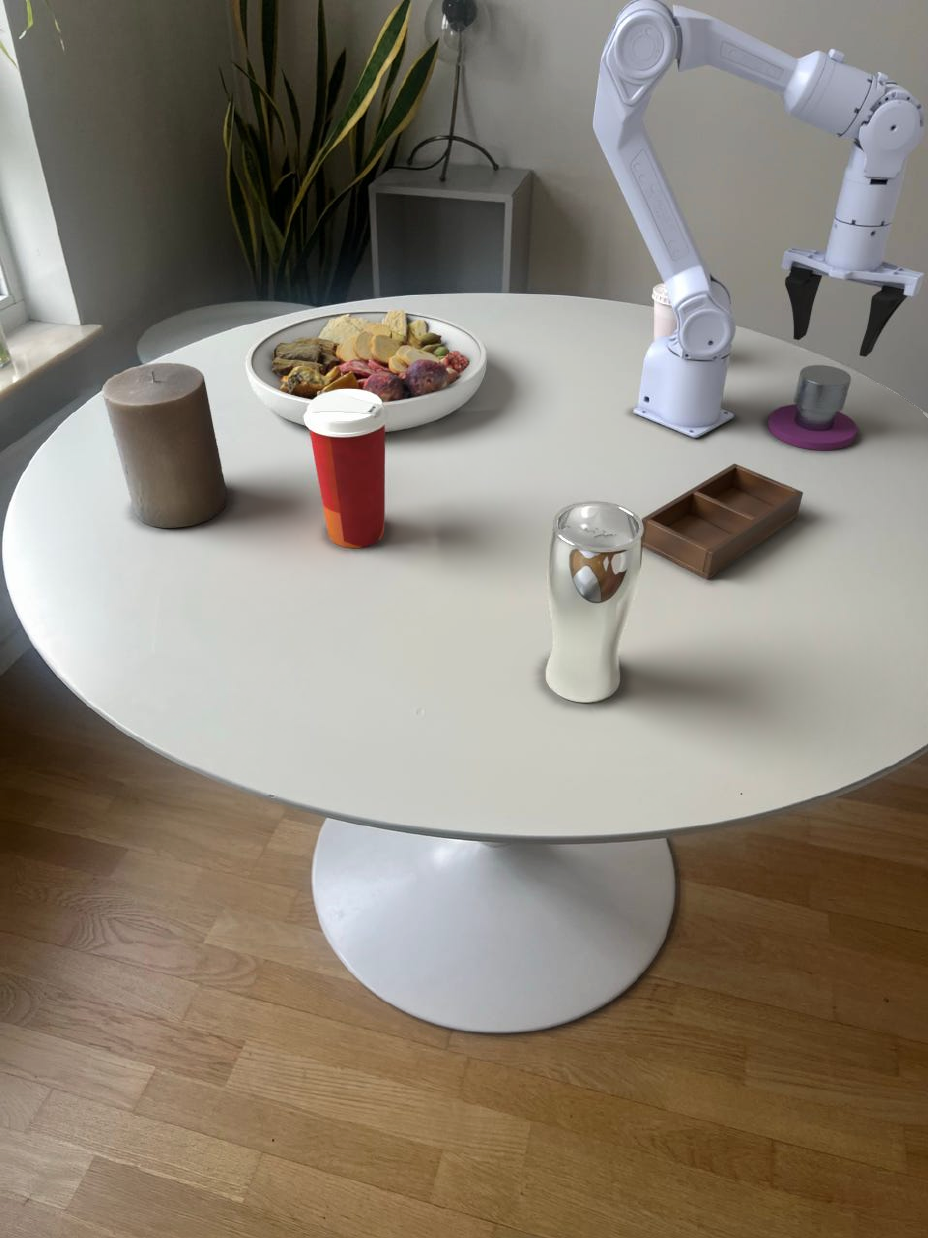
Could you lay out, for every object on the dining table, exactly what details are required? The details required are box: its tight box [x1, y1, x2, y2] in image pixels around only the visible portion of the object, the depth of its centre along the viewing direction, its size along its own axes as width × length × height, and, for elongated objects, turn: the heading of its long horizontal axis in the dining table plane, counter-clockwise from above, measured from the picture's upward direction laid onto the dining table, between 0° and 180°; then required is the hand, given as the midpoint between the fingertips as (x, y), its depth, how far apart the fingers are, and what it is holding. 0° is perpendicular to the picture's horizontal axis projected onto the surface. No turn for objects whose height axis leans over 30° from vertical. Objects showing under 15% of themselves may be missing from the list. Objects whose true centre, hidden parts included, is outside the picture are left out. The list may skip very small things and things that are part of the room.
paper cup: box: [304, 389, 388, 549], centre depth 89 cm, size 8×8×14 cm
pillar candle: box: [101, 362, 228, 529], centre depth 93 cm, size 10×10×15 cm
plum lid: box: [767, 403, 858, 451], centre depth 111 cm, size 10×10×1 cm
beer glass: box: [545, 500, 644, 704], centre depth 72 cm, size 7×7×15 cm
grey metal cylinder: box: [793, 364, 852, 431], centre depth 108 cm, size 6×6×6 cm
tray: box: [641, 463, 804, 580], centre depth 93 cm, size 8×16×3 cm, turn 133°
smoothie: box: [651, 282, 677, 342], centre depth 122 cm, size 6×6×14 cm
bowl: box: [245, 309, 488, 433], centre depth 117 cm, size 30×30×8 cm
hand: (832, 344), depth 105 cm, fingers open, 7 cm apart
